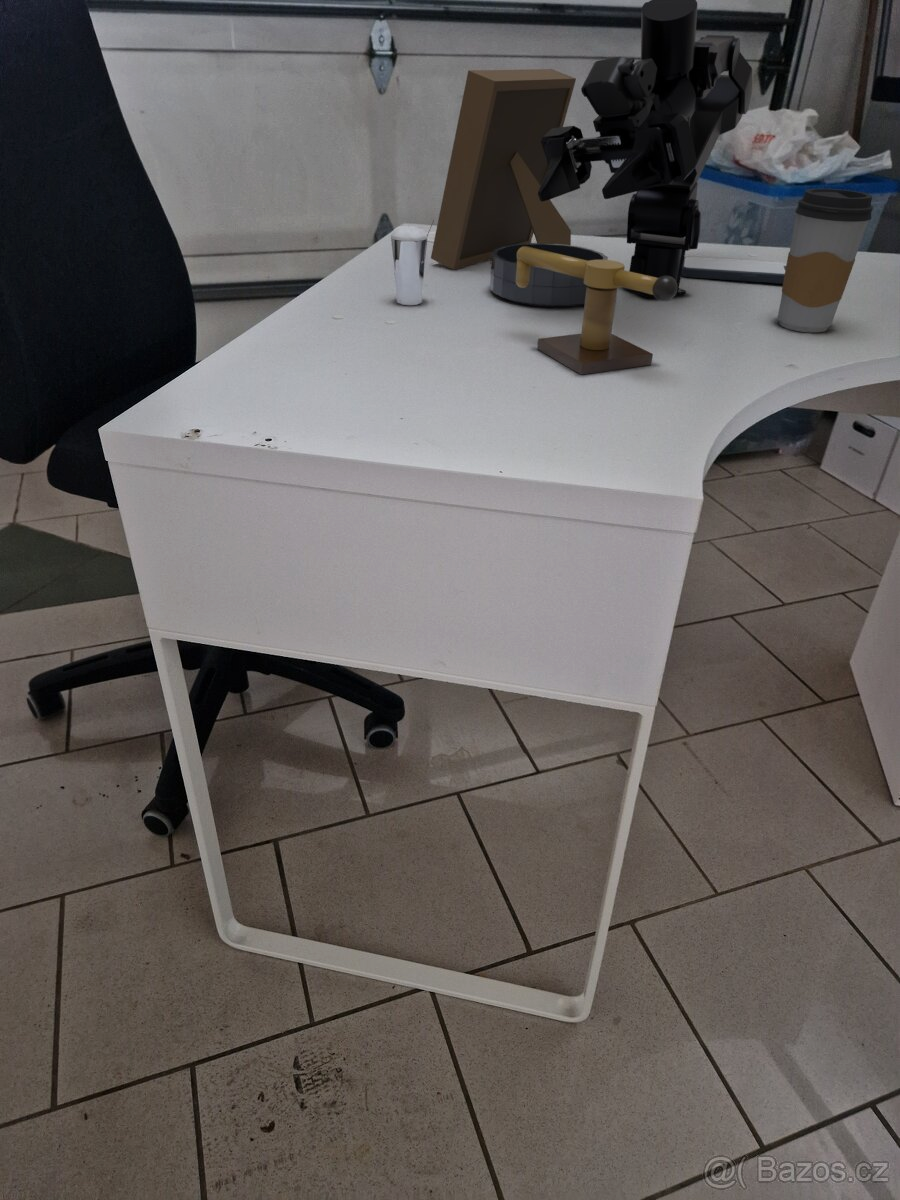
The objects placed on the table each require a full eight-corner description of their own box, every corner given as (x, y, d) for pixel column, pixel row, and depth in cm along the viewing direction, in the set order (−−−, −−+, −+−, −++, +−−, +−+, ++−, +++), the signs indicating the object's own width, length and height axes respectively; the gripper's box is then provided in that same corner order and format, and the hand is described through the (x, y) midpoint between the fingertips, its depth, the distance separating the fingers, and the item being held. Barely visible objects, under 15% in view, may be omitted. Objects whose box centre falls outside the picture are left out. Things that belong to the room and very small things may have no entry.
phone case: (678, 279, 123) (791, 286, 120) (680, 267, 122) (794, 275, 119) (680, 266, 130) (787, 273, 127) (682, 255, 129) (789, 262, 126)
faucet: (679, 323, 84) (688, 275, 81) (657, 330, 82) (665, 281, 79) (527, 283, 96) (531, 240, 93) (504, 288, 94) (507, 244, 91)
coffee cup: (837, 321, 106) (874, 191, 97) (840, 339, 99) (880, 201, 91) (769, 313, 108) (800, 185, 99) (767, 330, 101) (800, 195, 93)
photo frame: (430, 265, 125) (433, 68, 110) (508, 243, 139) (519, 67, 125) (513, 282, 118) (528, 74, 104) (586, 257, 132) (607, 72, 118)
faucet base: (604, 340, 96) (613, 273, 92) (651, 364, 89) (663, 293, 85) (537, 349, 93) (543, 280, 88) (581, 374, 86) (589, 301, 82)
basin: (563, 276, 121) (567, 240, 118) (624, 303, 110) (630, 263, 107) (471, 285, 115) (472, 247, 113) (525, 313, 104) (528, 272, 101)
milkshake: (428, 308, 105) (429, 223, 99) (387, 305, 106) (386, 220, 100) (436, 299, 109) (437, 216, 103) (396, 296, 109) (396, 214, 104)
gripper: (567, 54, 96) (483, 129, 91) (708, 26, 83) (619, 111, 78) (595, 149, 103) (519, 223, 98) (729, 137, 90) (648, 221, 86)
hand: (570, 196), depth 90 cm, fingers open, 9 cm apart
